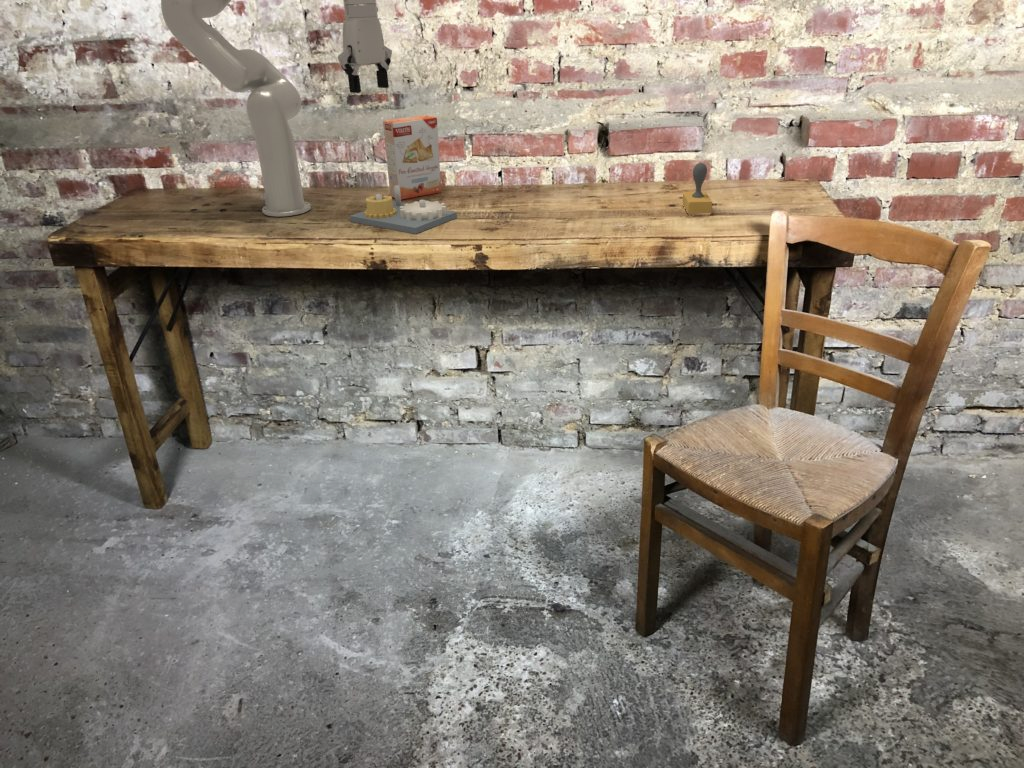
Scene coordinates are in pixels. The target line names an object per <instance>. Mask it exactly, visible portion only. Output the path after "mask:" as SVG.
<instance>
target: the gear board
mask: <svg viewBox="0 0 1024 768" xmlns="http://www.w3.org/2000/svg"><path fill="white" fill-rule="evenodd" d="M394 192H395V198H394V199H395V201H393V200H392V203H393V208H395V209H396V212H397V213H396V215H394V216H392V217H390V216H389V217H388V218H385V217H383V218H377V219H373V218H368V217H366V216H365V211H366V210H363V211H360V212H357V213H354V214H350V215H349V221H350V222H352V223H357V224H361V225H366V226H372V227H376V228H381V227H382V229H386V230H393V231H398V232H404V233H407V234H408V233H409V234H412V235H417V234H419V233H422V232H425V231H427V230H429V229H432V228H435V227H437V226H440V225H443V224H445V223H448V222H450V221H452V220H455V219H457V218H458V212H457V211H452V210H447V206H446V204H445V203H444V202H441V203H440V201H438V200H436V201H435V200H434V201H429V200H426V199H419V201H413V202H411V203H405V202H402V200H401V194H400V186H399V185H395V186H394ZM382 195H383V194H382V193H376V194H375V196H376V200H382Z"/></svg>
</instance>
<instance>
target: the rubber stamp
mask: <svg viewBox="0 0 1024 768" xmlns="http://www.w3.org/2000/svg"><path fill="white" fill-rule="evenodd" d="M707 175H708V167H707V166H706V164H705V163H702V162H697V163H696V164H695V165H694V167H693V169H692V178H693V181H694V184H695V191H684V192H683V193H682V203H683V205H684V207H685V209H686V211H687V213H689V214H691V213H692V214H693V213H711V214H712V209H713V201H712V199H711V198H710V197H709V195H708V194H707V193H706V191H702V186H703V183H704V182H705V179H706V177H707ZM683 205H682V206H683ZM684 207H683V208H684ZM685 209H684V210H685ZM686 211H685V212H686ZM687 213H686V214H687Z"/></svg>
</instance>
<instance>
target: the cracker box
mask: <svg viewBox="0 0 1024 768" xmlns="http://www.w3.org/2000/svg"><path fill="white" fill-rule="evenodd" d="M382 124H383V133H384V134H383V135H384V142H385V143H384V145H385V154H386V166H387V177H388V186H389V196H392V199H393V198H394V199H395V192H394V186H395V185H399V186H400V194H401V201H402V200H407V199H413V198H417V197H418V196H419V197H424V196H429V195H434V194H440V193H442V183H441V182H442V181H441V180H442V179H441V167H440V166H441V164H440V150H439V147H440V146H439V133H438V132H439V131H438V118H437V117H436V116H433V115H428V114H425V115H418V116H417V115H416V116H409V117H400V118H391V119H386V120H383V121H382Z"/></svg>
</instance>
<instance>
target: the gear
mask: <svg viewBox="0 0 1024 768" xmlns="http://www.w3.org/2000/svg"><path fill="white" fill-rule="evenodd" d="M365 200H366V201H365V202H366V203H365V204H366V209H365V210H364V211H365V216H366V217H368V218H373V219H377V218H383V217H385V218H388V217H389V216H390V217H392V216H394V215H396V213H397V212H396V209H395V208H393V203H392V201H393V197H392V196H390V195H385V194H382V200H376V195H372V196H369V197H366V199H365Z"/></svg>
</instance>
